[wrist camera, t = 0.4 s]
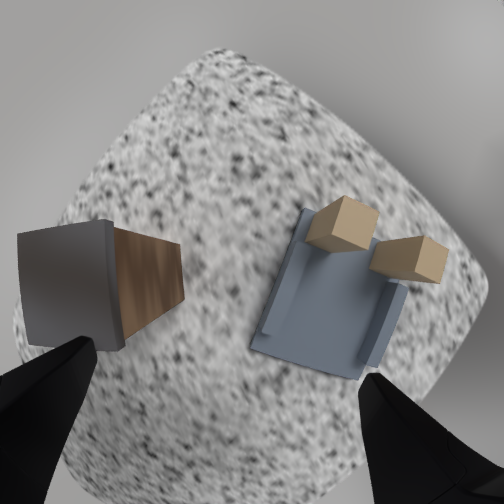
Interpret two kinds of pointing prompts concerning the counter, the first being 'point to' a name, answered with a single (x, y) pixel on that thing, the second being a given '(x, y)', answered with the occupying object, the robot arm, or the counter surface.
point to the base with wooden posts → (342, 290)
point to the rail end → (95, 283)
